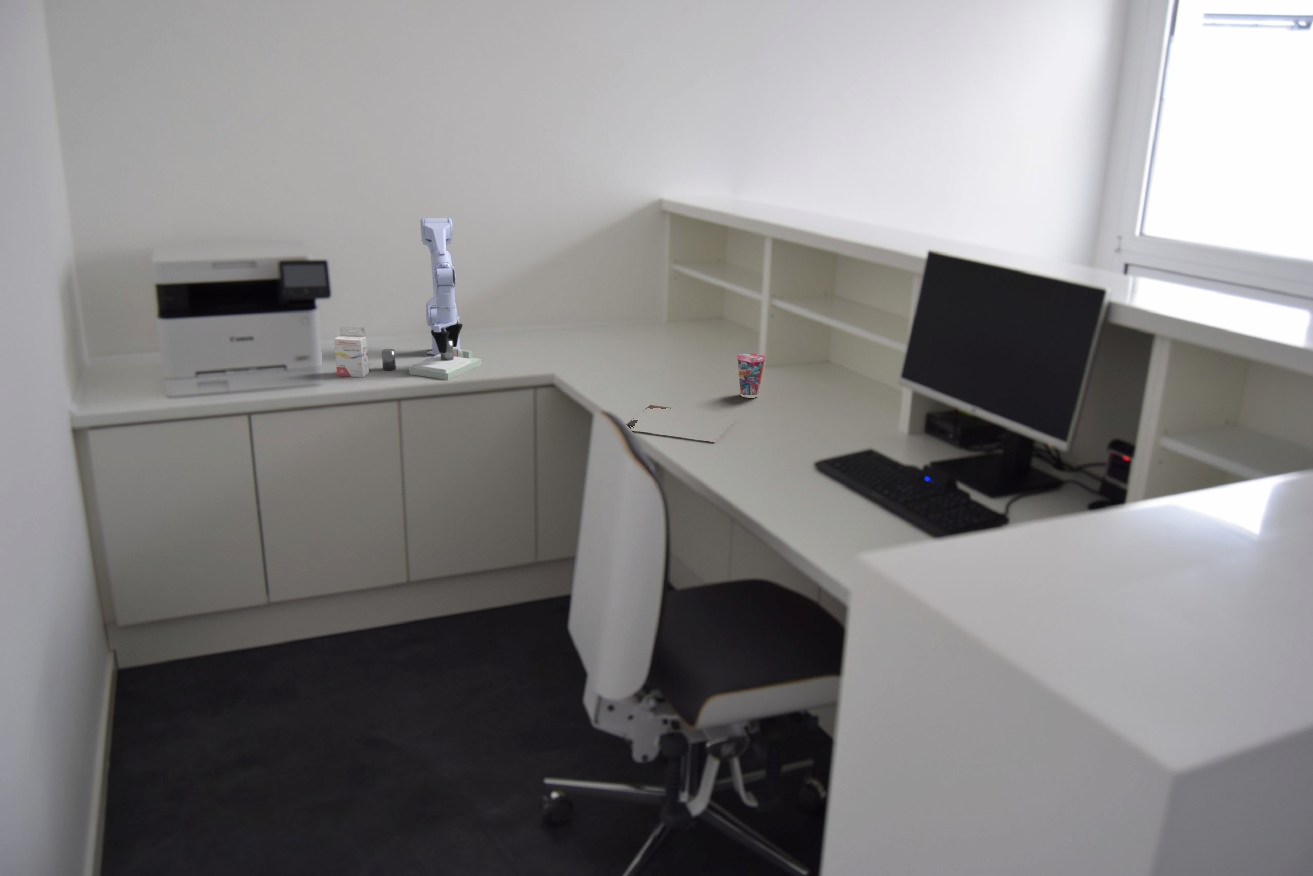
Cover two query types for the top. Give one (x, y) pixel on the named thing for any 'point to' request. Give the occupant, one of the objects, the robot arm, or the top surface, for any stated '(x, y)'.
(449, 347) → the cylinder
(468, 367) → the scale
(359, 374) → the ink cartridge box
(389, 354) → the cylinder
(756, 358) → the cup
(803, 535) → the top surface
